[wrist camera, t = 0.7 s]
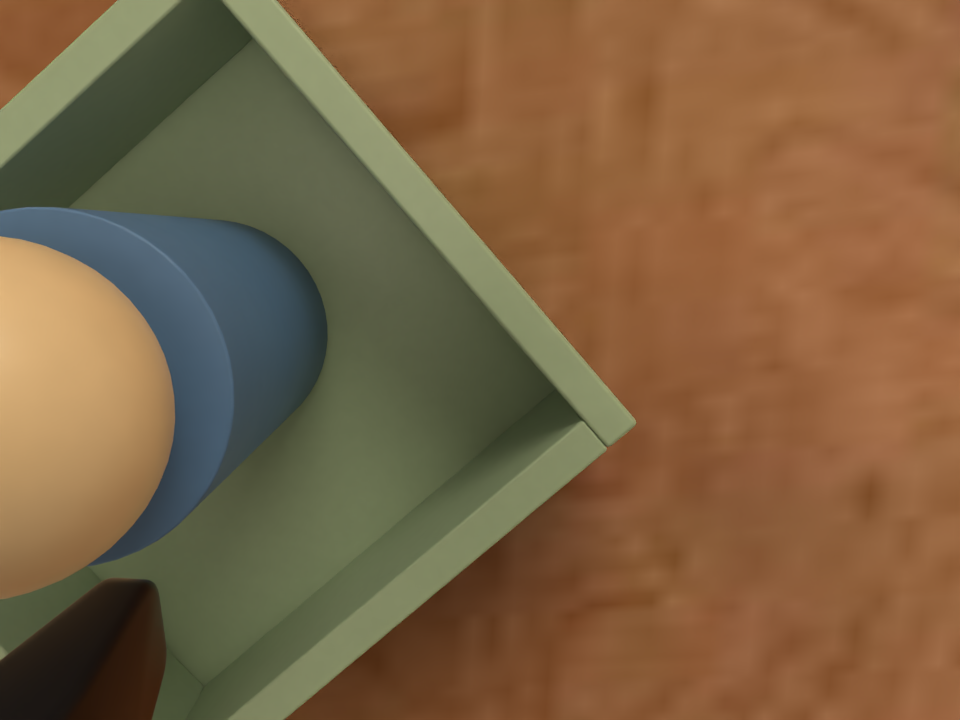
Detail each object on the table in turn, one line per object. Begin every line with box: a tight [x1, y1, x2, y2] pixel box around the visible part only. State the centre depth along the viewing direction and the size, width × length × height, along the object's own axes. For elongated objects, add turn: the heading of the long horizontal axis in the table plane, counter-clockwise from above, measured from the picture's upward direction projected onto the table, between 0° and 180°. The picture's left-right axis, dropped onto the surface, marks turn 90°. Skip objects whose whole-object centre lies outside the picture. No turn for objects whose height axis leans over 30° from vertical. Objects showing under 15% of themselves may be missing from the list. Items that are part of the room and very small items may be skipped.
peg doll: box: [0, 207, 327, 599], centre depth 16 cm, size 5×5×13 cm
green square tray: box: [0, 0, 636, 720], centre depth 21 cm, size 14×13×6 cm
